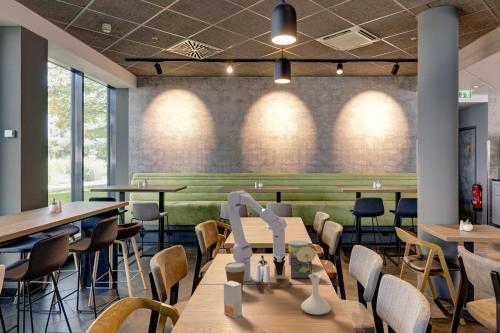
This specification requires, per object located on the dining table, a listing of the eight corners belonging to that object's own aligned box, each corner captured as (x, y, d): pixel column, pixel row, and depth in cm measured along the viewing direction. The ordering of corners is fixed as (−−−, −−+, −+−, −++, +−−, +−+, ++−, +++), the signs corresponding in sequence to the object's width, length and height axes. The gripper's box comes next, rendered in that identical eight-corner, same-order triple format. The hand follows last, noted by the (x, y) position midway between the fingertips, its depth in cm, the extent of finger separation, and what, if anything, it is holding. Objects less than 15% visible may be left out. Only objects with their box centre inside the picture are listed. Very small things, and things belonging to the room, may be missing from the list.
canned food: (289, 266, 200) (289, 245, 200) (288, 261, 211) (287, 240, 211) (309, 266, 200) (309, 244, 199) (307, 260, 211) (307, 240, 211)
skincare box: (223, 313, 138) (223, 282, 138) (231, 310, 141) (231, 280, 141) (234, 318, 134) (233, 286, 134) (242, 314, 137) (242, 283, 137)
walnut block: (270, 288, 166) (269, 282, 166) (270, 282, 175) (270, 276, 175) (289, 289, 166) (289, 282, 166) (288, 282, 174) (288, 276, 174)
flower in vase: (331, 307, 143) (330, 244, 143) (330, 319, 132) (329, 251, 132) (298, 304, 147) (297, 242, 146) (294, 315, 136) (293, 249, 135)
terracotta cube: (274, 278, 168) (274, 267, 168) (274, 274, 173) (274, 264, 173) (285, 278, 168) (285, 267, 168) (284, 274, 173) (284, 264, 173)
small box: (311, 275, 184) (311, 254, 184) (312, 279, 178) (312, 258, 178) (290, 274, 185) (290, 254, 185) (290, 278, 179) (290, 257, 179)
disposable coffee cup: (243, 295, 157) (243, 268, 157) (222, 294, 159) (222, 267, 159) (247, 288, 167) (247, 262, 166) (228, 287, 169) (227, 261, 168)
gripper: (287, 248, 163) (288, 277, 163) (287, 241, 177) (287, 268, 177) (272, 248, 163) (272, 277, 163) (272, 241, 178) (273, 268, 178)
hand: (279, 273), depth 170 cm, fingers closed on terracotta cube, 5 cm apart
